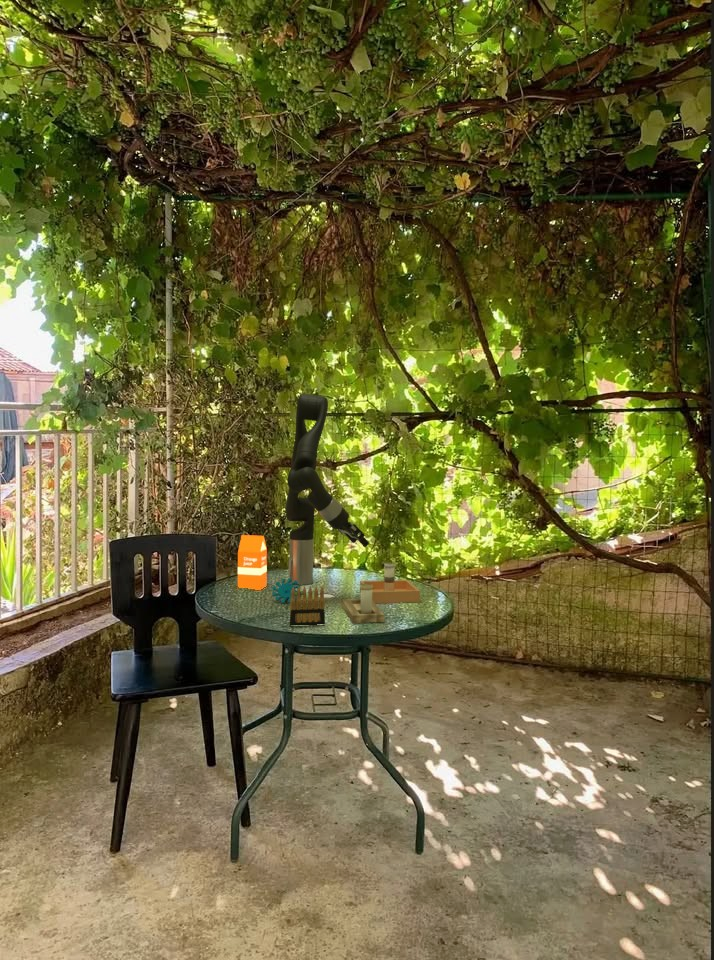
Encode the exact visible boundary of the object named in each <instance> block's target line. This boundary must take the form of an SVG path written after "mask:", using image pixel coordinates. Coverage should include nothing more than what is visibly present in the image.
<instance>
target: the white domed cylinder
mask: <svg viewBox="0 0 714 960" xmlns="http://www.w3.org/2000/svg"><path fill="white" fill-rule="evenodd" d="M395 568H396V563H393V562H385V563H383V571H384V572H383V573H384V577H383V581H384V591H394V580H396V579H395V578H396V577H395Z"/></svg>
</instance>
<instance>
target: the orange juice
mask: <svg viewBox="0 0 714 960" xmlns="http://www.w3.org/2000/svg"><path fill="white" fill-rule="evenodd" d="M267 551H268V549H267V544H266V540H265V536H264V535H250V534H241V536H240V541H239V547H238V550H237V588H238V587H239V588H248V589H255V590H261V589H263V588H264V587H266V586H267V579H268V578H267V576H268V574H267V572H268V569H267V566H268V565H267V564H268V562H267V560H268V559H267V558H268V556H267V555H268V553H267ZM266 588H267V587H266ZM264 589H265V588H264ZM264 589H263V590H264Z"/></svg>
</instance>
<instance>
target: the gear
mask: <svg viewBox="0 0 714 960" xmlns="http://www.w3.org/2000/svg"><path fill="white" fill-rule="evenodd" d="M281 582H282V583H280V581H279V580H277V581H276V582H275V585H274V586H273V587H272V597H275V601H276V602H279V601H280V602H281V604H283V603H284V604H285V603H286V601H287V604H290V600H291V591H292V587H294V590H295V600H296V599H297V590H298V587H300V589H301V585H297V584H298V583H297V581H296V580H295V581H294V582H293V583H291V584H290V582H292V579H291V578H289V577H288V579H287V581H286V578H282V579H281ZM280 584H281V585H280ZM277 587H278V588H277ZM300 591H301V598H302V596H303V590H300Z"/></svg>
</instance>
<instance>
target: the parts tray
mask: <svg viewBox="0 0 714 960" xmlns="http://www.w3.org/2000/svg"><path fill="white" fill-rule="evenodd" d="M361 584H372V585H373V589H372V600H373V601H374V603H375V604H376V605H377V604H400V603H399V602H411V603H421V590H420V589H419V588H418V587H416V585H414V584H413V583H412V582H410V581H409V580H408V579H399V580H398V579H397V580H396V579H394V591H384V580H360V581H359V586H360V585H361ZM359 593H360V594H361V589H360V588H359Z"/></svg>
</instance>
